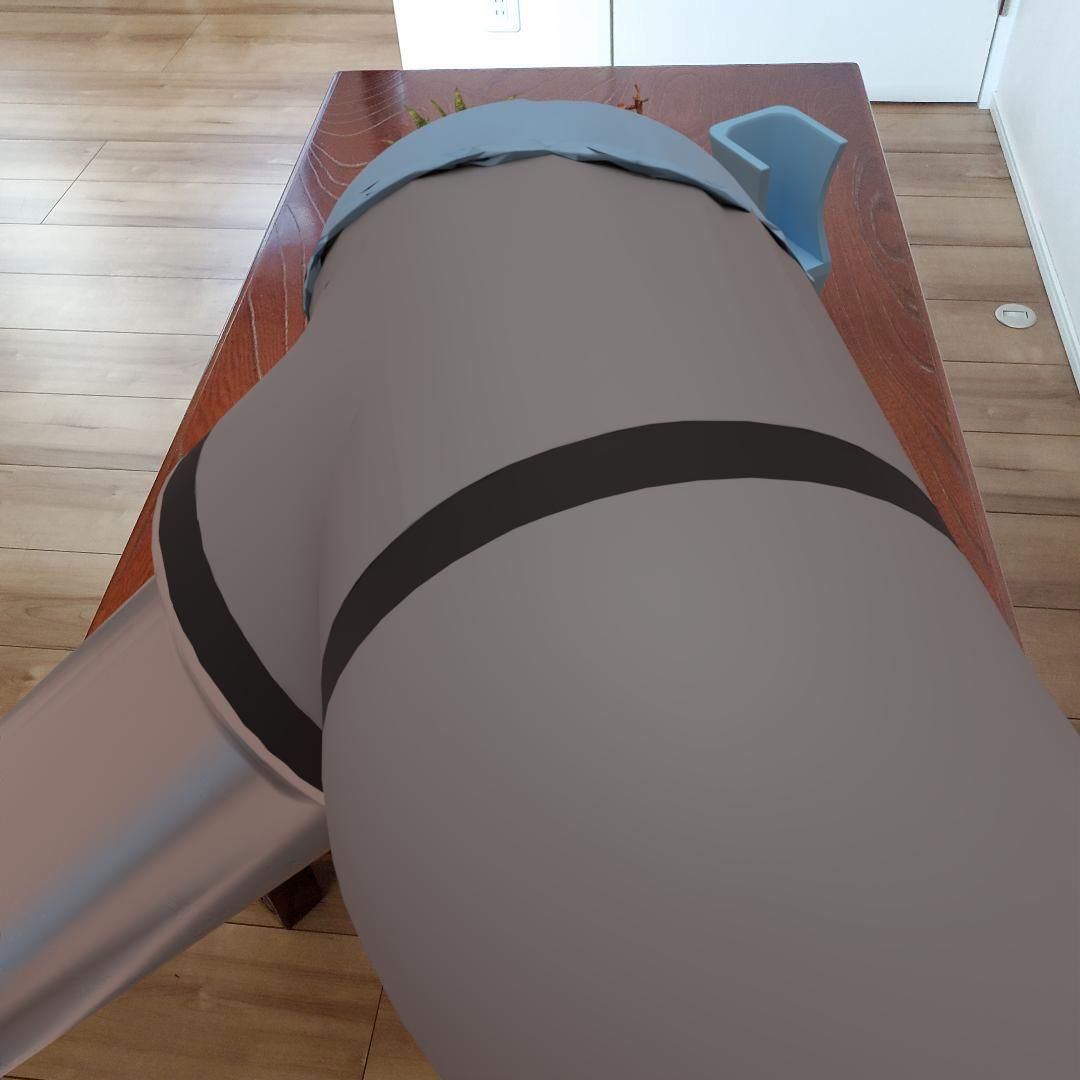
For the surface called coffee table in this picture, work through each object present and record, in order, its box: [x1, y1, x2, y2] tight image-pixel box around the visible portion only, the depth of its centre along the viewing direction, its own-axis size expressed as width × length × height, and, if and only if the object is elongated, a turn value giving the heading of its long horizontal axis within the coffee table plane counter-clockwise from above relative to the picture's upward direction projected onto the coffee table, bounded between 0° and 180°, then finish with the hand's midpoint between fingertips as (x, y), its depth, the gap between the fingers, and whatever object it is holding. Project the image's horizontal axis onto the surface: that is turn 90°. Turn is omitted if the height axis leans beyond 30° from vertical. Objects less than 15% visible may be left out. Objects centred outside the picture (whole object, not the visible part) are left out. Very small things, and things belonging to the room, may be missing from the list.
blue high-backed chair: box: [708, 105, 849, 294], centre depth 91 cm, size 8×8×20 cm
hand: (657, 669), depth 63 cm, fingers open, 13 cm apart
